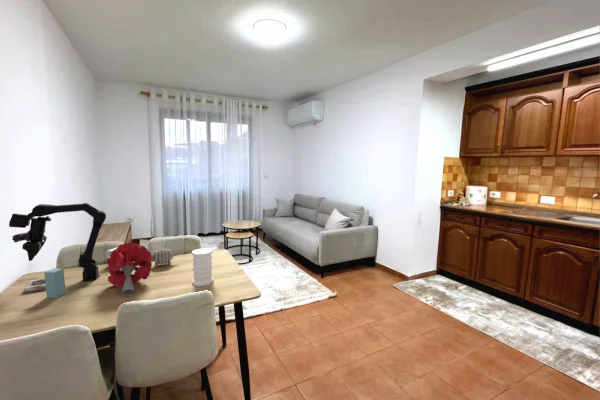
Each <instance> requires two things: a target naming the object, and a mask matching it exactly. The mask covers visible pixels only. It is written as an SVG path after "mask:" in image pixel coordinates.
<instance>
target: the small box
mask: <svg viewBox="0 0 600 400" xmlns="http://www.w3.org/2000/svg"><path fill="white" fill-rule="evenodd" d="M116 248H118V246H117V247H116V246H115V247H114V248H111V249H108V250H106V260H107V259H108V258H110V254H111V252H112V251H113V250H115V249H116ZM106 264H107V263H106ZM106 266H107V267H109V266H108V264H107V265H106Z"/></svg>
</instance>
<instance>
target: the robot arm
mask: <svg viewBox="0 0 600 400" xmlns="http://www.w3.org/2000/svg"><path fill="white" fill-rule="evenodd" d="M82 211H83V212H85V213H87V214H88V215H89V216H90V217H92V220H93V221H92V228H91V231H90V234H89V238H88V240H87V244H86V247H85V249H84V251H80V253H79V257H78V259H77V262H78V265H79V267H80V268H81V269H82V272H81V274H82V282H87V281H95V280H97V279H98V278H99V277H100V276H101V274H99V267H98V266H97V265H98V261H96V260H95V259H93V255H94V254H93V253H94V248H95V245H96V243H97V239H98V236H99V233H100V230H101V227H102V226H103V224H104V222H105V220H106V219H107V213H106V212H105V211H103V210H99V209H97V208H96V207H95V206H92V205H91V204H90V203H89V202H84V203H75V204H58V205H56V204H48V203H47V204H45V203H43V204H42V203H41V204H40V203H39V204H37V205H35V206H34V207H32V210H31V212H28V213H27V214H21V213H20V214H19V213H12V214H11V218H10V220H9V223H8V227H9V228H19V229H20V228H22V229H25V228H27V227H29V230H28V231H27V232H22V233H18V234H17V233H16V234H14V235H12V241H13V242H14V243H19V242H23V241H26V242H24V243H23V244H22V250H23V251H26V253H27V258H28V261H29V262H31V261H33V260H34V258H35V257H36V256H37V255H38V253H39V252H40V251H41V249H42V248H43V247H44V245H45V243H46V242H47V238H48V237H47V235H45V233H46V224H47V222H51V221H52V218H50V216H49V215H53V214H57V213H70V212H72V213H73V212H82Z"/></svg>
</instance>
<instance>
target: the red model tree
mask: <svg viewBox="0 0 600 400" xmlns="http://www.w3.org/2000/svg"><path fill="white" fill-rule="evenodd" d="M117 247H118V248H116V247H115V248H116V249H115V250H113V251H112V252H111V254H110V258H108V259H107V258H106V264H108V266H107V267H108V268H107V271H108V273H109V276H108V277H107V281H108V283H110V285H112V286H113V285H114V286H115V287H119V288H122V289H121V295H122V296H124V297H129V296H132V295H133V294H134V292H135V287H134V284H133V283H139V281H141V280H147V279H148V277H149V276H150V274H151V271H152V264H153V262H151V261H152V257H151V254H152V252H150V251H149V250H148V249H147V248H146V246H144V245H141V244H138V243H133V242H127V243H126V242H125V243H123V244H119V245H118V246H117ZM133 271H134V272H133Z"/></svg>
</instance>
